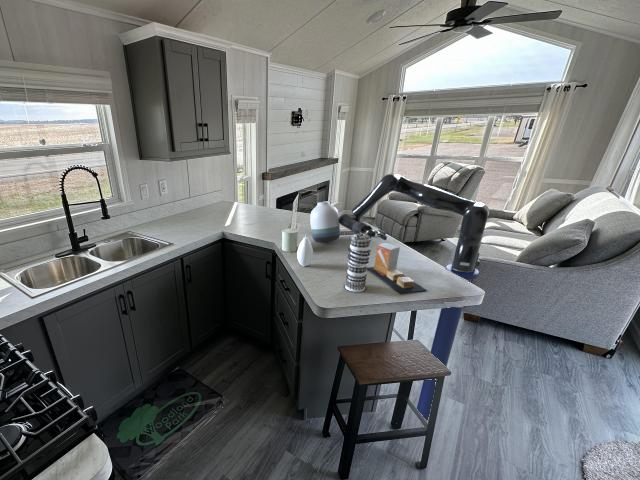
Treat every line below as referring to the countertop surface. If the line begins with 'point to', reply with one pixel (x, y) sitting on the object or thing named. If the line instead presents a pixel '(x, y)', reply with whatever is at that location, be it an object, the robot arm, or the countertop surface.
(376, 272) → the word mat
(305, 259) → the white teardrop ornament
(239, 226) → the countertop surface
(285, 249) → the can
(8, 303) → the countertop surface
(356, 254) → the decorative candle
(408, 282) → the letter block
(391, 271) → the block
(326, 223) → the vase
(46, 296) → the countertop surface
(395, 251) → the small box
